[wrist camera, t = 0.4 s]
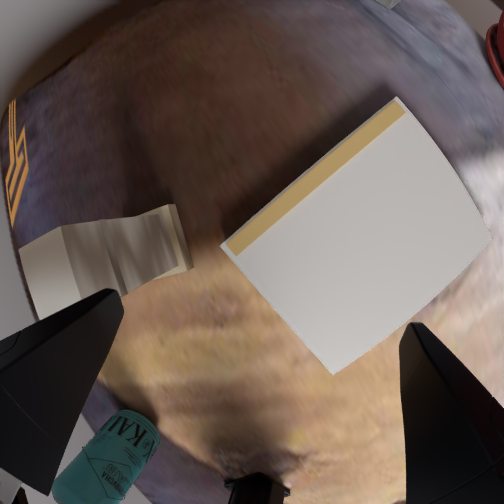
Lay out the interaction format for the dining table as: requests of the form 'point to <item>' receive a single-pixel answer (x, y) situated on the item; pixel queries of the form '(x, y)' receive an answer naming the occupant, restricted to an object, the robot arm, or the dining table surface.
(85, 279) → the white stepped pillar
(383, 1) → the coffee box
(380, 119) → the white rectangular slab
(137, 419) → the beverage bottle
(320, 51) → the dining table surface
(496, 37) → the plant pot
